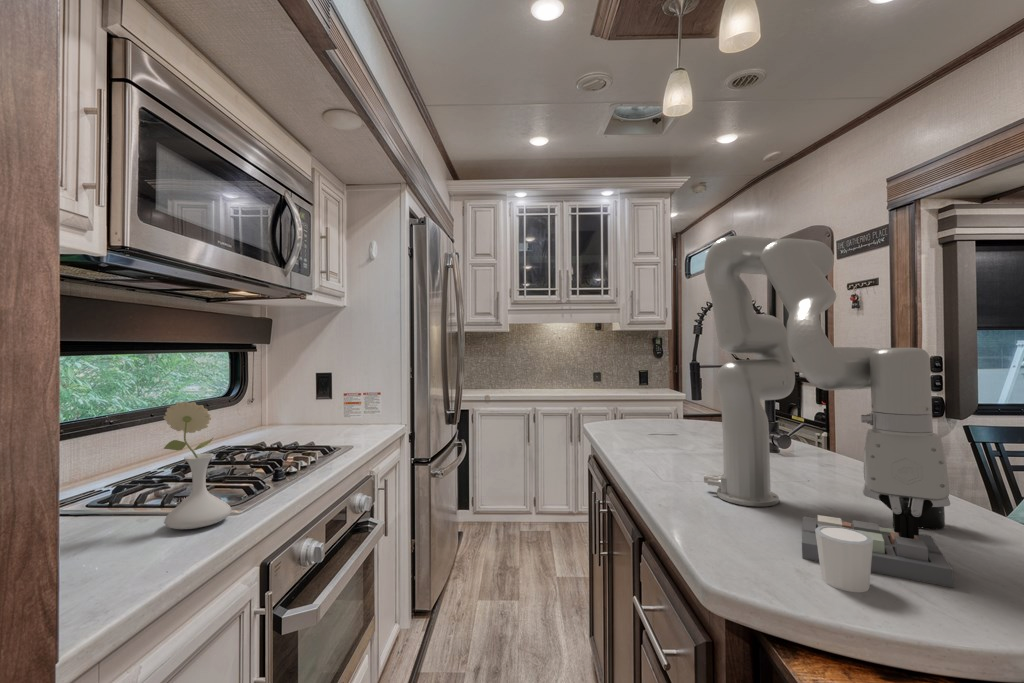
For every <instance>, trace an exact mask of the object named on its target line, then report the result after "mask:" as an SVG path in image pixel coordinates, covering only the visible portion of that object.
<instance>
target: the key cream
mask: <svg viewBox="0 0 1024 683" xmlns="http://www.w3.org/2000/svg"><path fill="white" fill-rule="evenodd" d="M817 518H818V524H822V525H828V526H838V527H842V522H843V520H842V517H841V518H840V517H834V516H826V515H821V514H817Z"/></svg>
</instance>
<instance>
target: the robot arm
mask: <svg viewBox="0 0 1024 683" xmlns="http://www.w3.org/2000/svg"><path fill="white" fill-rule="evenodd" d="M834 263H835V256H834V253H833V250H832V249H831V248H830V247H829V245H827V244H826V243H824V242H822V241H820V240H815V239H804V238H803V239H802V238H792V237H791V238H771V237H764V236H763V237H762V236H752V235H751V236H749V235H728V236H724V237H721V238H719V239H718V240H716V241H714V243H713V244H711V247H710V248H709V250H708V251H707V254H706V257H705V260H704V267H703V268H704V276H705V281H706V282H705V283H706V285H707V287H708V291H709V295H710V297H711V302H712V311H713V318H714V325H715V330H716V331H715V332H716V338H717V342H718V346H719V347H720V349H721V350H722V351H723V352H724V353H726V354H730V355H753V356H754V359H750V358H749V359H735V360H731V361H728V362H726V363H724V364H723V365H722V366H720V368H719V369H718V371H717V374H716V388H717V392H718V397H719V401H720V402H719V403H720V408H721V421H722V422H721V426H722V427H721V428H722V456H723V461H722V464H723V473H722V475H720V474H719V475H718V476H715V475H711V474H710V475H709V474H704V475H703V482H704V483H705V484H707V486H715V487H718V488H717V489H716V495H717V497H718V498H719V499H721V500H723V501H726V502H728V503H731V504H735V505H740V506H745V507H746V506H748V507H759V508H761V507H772V506H776V505H777V504H778V503H780V498H779V495H778V494H777V493H775V492H773V491H771V488H772V487H771V462H770V461H771V460H770V459H771V456H770V453H771V452H770V428H769V426H770V425H769V419H768V415H767V413H766V411H765V408H764V407H763V405H762V403H761V401H775V400H782V399H785V398H786V397H788V396H790V394H791V393H793V390H794V388H795V385H796V374H795V373H796V372H795V367H794V363H795V364H796V366H797V367H798V369H799V371H800V372H801V374H802V375H803V377H804V378H805V379H806V381H808V382H809V383H810V384H811V385H812V386H814V387H816V388H817V389H821V390H824V391H845V390H846V391H847V390H868V389H869V390H870V399H871V400H870V401H871V402H870V404H871V411H870V412H869V413H867V414H861V415H860V421H861V423H865V424H867V425H868V424H869V425H870V426H871V427H872V428H869V429H867V432H866V437H865V443H864V444H865V445H864V451H863V452H864V453H863V454H864V455H863V477H864V484H863V489H862V494H863V496H865V497H867V498H870V499H874V500H877V501H881V503H883V504H884V505H885V506H886V507H887V508H888V509H890V510H891V512H892V525H893V527H892V529H894V532H898V534H899V536H900V537H904V538H910V539H914V535H918V536H919V534H920V528H919V521H918V517H919V516H921V514H922V513H923V512H925V511H926V510H928V509H929V508H931V507H944V508H945V507H950V505H951V501H950V497H949V496H950V481H949V473H948V465H947V456H946V453H945V448H944V443H943V441H942V438H941V435H940V434H938V433H936V432H935V433H934V425H933V411H932V410H933V406H932V405H933V404H932V403H933V402H932V381H931V377H932V376H931V360H930V354H929V353H928V352H927V350H926V349H923V348H921V347H920V348H919V347H882V348H873V347H856V346H855V347H854V346H853V347H849V346H845V347H842V346H838V347H836V346H834V345H833V344H832V343H831V341H830V340H829V338H828V337H827V335H826V333H825V331H824V329H823V328H822V324H821V321H820V320H821V319H820V315H821V314H823V312H825V311H827V310H828V309H829V308H831V307H832V306H833V305H834V303H835V301H836V299H837V293H836V291H835V289H834V287H832V285H831V283H830V281H828V279H827V276H829V274H830V273H831V272H832V270H833V268H834V265H835V264H834ZM741 274H744V275H745V274H747V275H749V274H750V275H764V276H765V275H766V277H767V278H768V280H769V281H770V284H772V286H773V288H774V290H775V292H776V294H777V295H778V297H779V298H780V300H781V302H782V303H783V305H784V308H785V309H786V310H787V313H788V319H787V321H786V325H784V323H783V322H782V321H781V320H780V319H779V318H778V317H775V316H774V315H770V314H764V313H763V314H761V313H760V314H758V313H756V312H755V309H754V306H753V299H752V294H751V291H750V289H749V287H748V286H747V284H746V283H745V282H744V280H743V279H742V278H741V276H740V275H741ZM785 326H786V327H785ZM793 361H794V362H793ZM898 496H899V497H908V498H910V499H909V505H908V508H906V510H907V511H906V512H904V511H903V509H902V507H901V505H900V501H899V497H898Z"/></svg>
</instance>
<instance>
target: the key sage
mask: <svg viewBox="0 0 1024 683" xmlns="http://www.w3.org/2000/svg"><path fill="white" fill-rule="evenodd" d="M857 531H860V530H857ZM860 532H862V533H865V534H867V535H868V536H870V537H871V538H872V539H873V549H872V552H876V553H882V554H885V547H884V539H883V537H882V534H878V533H872V532H866V531H860Z"/></svg>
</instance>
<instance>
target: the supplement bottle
mask: <svg viewBox="0 0 1024 683" xmlns="http://www.w3.org/2000/svg"><path fill="white" fill-rule="evenodd" d="M898 497H899V496H898ZM909 499H910V498H908V497H899V501H900V505H901V507H902V509H903V511H904V512H906V511H907V510H906V508H908V505H909ZM945 512H946V511H945V506H944V507H931V508H929V509H928V510H926V511H925V512H923V513H922V514H921V516H919V517H918V521H919V527H923V528H922V529H925V528H930V529H929V530H941V528H942V529H944V527H945V524H946V515H945V514H946V513H945Z"/></svg>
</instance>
